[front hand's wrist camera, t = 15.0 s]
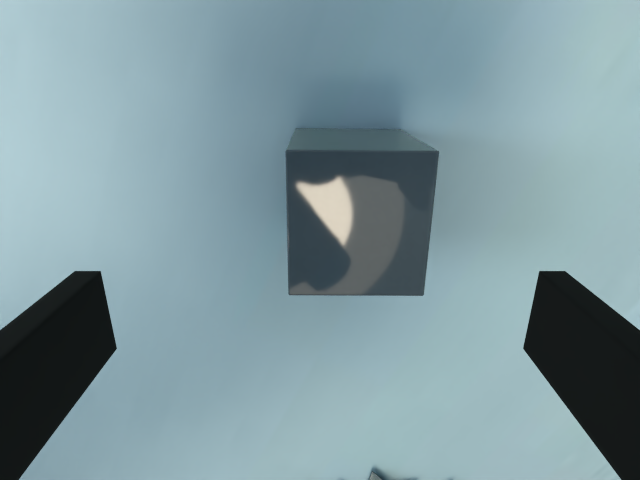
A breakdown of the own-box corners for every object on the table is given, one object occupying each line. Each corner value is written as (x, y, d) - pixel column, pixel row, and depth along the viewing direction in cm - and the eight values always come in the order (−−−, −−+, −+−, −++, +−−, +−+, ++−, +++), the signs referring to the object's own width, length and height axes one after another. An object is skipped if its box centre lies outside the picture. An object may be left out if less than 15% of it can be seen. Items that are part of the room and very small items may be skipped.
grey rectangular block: (393, 235, 29) (423, 296, 21) (296, 234, 29) (288, 295, 21) (401, 129, 27) (439, 150, 19) (295, 128, 27) (285, 149, 18)
